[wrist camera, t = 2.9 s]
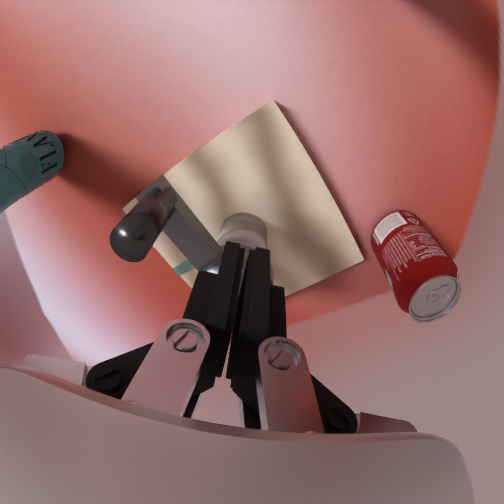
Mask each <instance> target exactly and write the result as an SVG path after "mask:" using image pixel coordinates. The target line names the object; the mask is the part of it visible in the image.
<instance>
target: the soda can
mask: <svg viewBox="0 0 504 504" xmlns="http://www.w3.org/2000/svg"><path fill="white" fill-rule="evenodd" d="M371 246H372V249H373V251H374V253H375V255H376V257H377V259H378V261H379V263H380V265H381V267H382V269H383V271H384V274H385V276H386V278H387V280H388V282H389V284H390V287H391V289H392V291H393V293H394V295H395V298H396V300H397V302H398V305H399V306H400V308H401V309H402V310H403V311H404V312H406V313H408V314H410V316H411V317H412V319H414V320H415V321H417V322H420V323H427V322H432V321H435V320H438V319H439V318H441V317H443V316H445V315H446V314H447V313H448V312H449V311H451V309H452V308H453V307H454V306H455V304H456V303H457V301H458V300H459V297H460V294H461V284H460V282H459V280H458V278H459V274H458V269H457V266H456V265H455V263H454V262H453V260H452V259H451V258H450V257H449V255H448V254H447V253H446V251H445V250H444V249H443V247H442V246H441V245H440V244H439V242H438V241H437V240H436V239H435V237H434V236H433V235H432V234H431V233H430V231H429V230H428V229H427V228H426V227H425V225H424V224H423V223H422V222H421V221H420V220H419V218H418V217H417V216H416V215H415V214H413V213H412V212H409V211H406V210H396V211H392V212H390V213H388V214H386V215H385V216H383V217H382V218H381V219H380V220H379V221H378V222H377V224H376V225H375V227H374V229H373V231H372V234H371Z"/></svg>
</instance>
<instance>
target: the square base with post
mask: <svg viewBox="0 0 504 504" xmlns="http://www.w3.org/2000/svg"><path fill="white" fill-rule="evenodd" d="M164 176H165V178H166V179H167V180H168V182H169V183H170V184H171V185H172V187H173V188H174V189H175V190H176V192H177V193H178V194H179V195H180V197H181V198H182V199H183V201H184V202H185V203H186V204H187V206H188V207H189V208H190V209H191V211H192V212H193V213H194V214H195V216H196V217H197V218H198V219H199V221H200V222H201V223H202V224H203V226H204V227H205V228H206V229H207V231H208V232H209V233H210V234H211V235H212V237H213V238H214V239H215V240H216V242H217V243H218V244H219V245H220V246H221V245H225V244H226V241H230V242H235V243H240V244H242V245H246V246H249V247H252V248H254V249H255V248H256V247H260V248H264V249H269V250H270V263H271V266H272V268H273V273H274V285H276V286H281V287H284V290H285V297H286V296H288V295H290V294H293V293H295V292H297V291H299V290H302V289H304V288H306V287H308V286H310V285H313V284H315V283H317V282H319V281H321V280H323V279H326V278H328V277H330V276H332V275H334V274H336V273H338V272H340V271H343V270H345V269H347V268H349V267H351V266H353V265H355V264H357V263H359V262H361V261H363V260H364V258H363V256H362V254H361V251H360V249H359V247H358V245H357V243H356V241H355V239H354V237H353V235H352V233H351V231H350V229H349V227H348V225H347V223H346V221H345V219H344V217H343V215H342V214H341V212H340V210H339V208H338V206H337V204H336V202H335V200H334V199H333V197H332V195H331V193H330V191H329V189H328V188H327V186H326V184H325V182H324V180H323V179H322V177H321V175H320V173H319V172H318V170H317V168H316V166H315V165H314V163H313V161H312V160H311V158H310V156H309V155H308V153H307V151H306V150H305V148H304V146H303V145H302V143H301V141H300V140H299V138H298V137H297V135H296V133H295V132H294V130H293V129H292V127H291V125H290V124H289V122H288V121H287V119H286V118H285V116H284V115H283V113H282V112H281V110H280V109H279V107H278V106H277V104H276V103H275V101H274V100H273V101H272V102H270V103H268V104H267V105H265V106H263V107H262V108H260V109H258V110H257V111H255V112H253V113H252V114H250V115H248V116H247V117H245V118H244V119H242V120H241V121H239V122H237V123H236V124H234V125H233V126H231V127H230V128H228V129H227V130H225V131H224V132H222V133H221V134H219V135H218V136H216V137H215V138H213V139H212V140H210V141H209V142H207V143H206V144H204V145H203V146H202V147H200V148H199V149H197V150H196V151H195V152H193V153H192V154H190V155H189V156H188V157H186V158H185V159H183V160H182V161H181V162H179V163H178V164H177V165H175V166H174V167H173V168H171V169H170V170H169V171H167V172H166V173H165V174H164ZM138 202H139V201H138V200H137V199H136V198H134V199H133V200H131V201H130V202H129V203H128V204H127V205H126V206H125V207H124V208H123V209H122V210H123V211H124V212H125V214H126V215H127V214H128V213H129V211H130V210H131V209H132V208H133V207H134V206H135V205H136V204H137V203H138ZM153 246H154V247H155V249H156V250H157V251H158V252H159V253H160V254H161V255H162V256H163V258H164V259H165V260H166V261H167V262H168V263H169V264H170V265H171V266H172V268H173V270H174V271H175V272H176V273H177V274H178V275H180V276H181V277H182V278H183V280H184V281H185V282H186V283H187V284H188V285H189V286H190V287H191V288H192V287H193V284H194V282H195V279H196V276H197V273H198V270H197V269H196V268H195V267H194V266H193V265H192V264H191V263H190V261H189V260H188V259H187V258H186V257H185V256H184V255H183V253H182V252H181V251H180V250H179V249H178V248H177V247H176V245H175V244H174V243H173V242H172V241H171V240H170V238H169V237H168V236H167V235H166V234H165V233H164V231H163V230H162V232H161V233H160V235H159V236H158V238H157V239H156V241H155V243H154V244H153Z"/></svg>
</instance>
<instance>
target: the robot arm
mask: <svg viewBox="0 0 504 504" xmlns="http://www.w3.org/2000/svg"><path fill="white" fill-rule="evenodd" d="M244 254H245V248H241V247H240V243H235V242H230V241H226V244H225V248H224V251H223V255H222V259H221V263H220V267H219V270H218V274H216V273H211V272H207V271H202V270H199V272H198V274H197V277H196V280H195V283H194V286H193V289H192V291H191V294H190V297H189V300H188V303H187V306H186V309H185V312H184V315H183V318H182V319H177V320H173V321H171V322H169V323H167V324H166V325H165V326H164V327H163V329H162V330H161V332H160V334H159V335H158V337H157V339H156V340H155V342H153V343H150V344H148V345H145V346H143V347H140V348H137V349H135V350H132V351H130V352H127V353H125V354H122V355H119V356H117V357H114V358H112V359H109V360H106V361H104V362H101V363H99V364H97V365H95V366H93V367H91V366H87V365H86V363H83V362H76V361H70V360H63V359H58V358H52V357H47V356H42V355H29V356H27V357H25V358H24V359H23V360H22V361H21V362H20V364H14V363H0V504H475V500H474V495H473V490H472V484H471V479H470V475H469V472H468V468H467V465H466V462H465V460H464V457H463V455H462V453H461V451H460V450H459V448H458V447H457V446H456V445H455V444H454V443H452V442H450V441H448V440H447V439H444V438H442V437H439V436H435V435H432V434H427V433H419V432H417V430H416V429H415V427H414V426H413V425H412V424H411V423H410V422H407V421H404V420H398V419H393V418H388V417H382V416H378V415H373V414H368V413H364V412H360V413H359V414H355V413H354V412H353V411H352V410H351V409H350V408H349V407H348V406H347V405H346V404H345V403H344V402H342V401H341V400H340V399H339V398H338V397H337V396H335V395H334V394H333V393H332V392H331V391H330V390H328V389H327V388H326V387H325V386H324V385H323V384H322V383H321V382H319V381H318V380H317V379H316V378H315V377H314V376H313V375H311V374H310V372H309V368H308V364H307V360H306V357H305V354H304V351H303V349H302V348H301V347H300V346H299V345H298V344H297V343H296V342H294V341H293V340H291V339H288V338H287V333H286V309H285V290H284V287H281V286H276V285H271V284H270V250H269V249H264V248H260V247H256V248H255V250H249V254H248V258H247V262H246V266H245V271H244V275H243V279H242V283H241V287H240V281H241V274H242V267H243V261H244ZM239 288H240V292H239ZM238 295H239V296H238ZM232 330H233V331H232ZM231 334H232V338H231ZM230 338H231V345H230V352H229V359H228V366H227V373H226V378H227V379H231V386H230V388H233V389H232V390H233V391H234V392H235V393H236V394H237V396H239V398H240V399H239V409H240V421H241V427H235V426H228V425H222V424H216V423H210V422H205V421H200V420H195V419H193V416H194V413H195V411H196V408H197V406H198V403H199V401H200V398H201V395H202V393H203V392H204V391H206V390H208V389H210V388H212V387H213V386H214V381H215V377H221V375H222V371H223V367H224V363H225V359H226V355H227V351H228V347H229V343H230Z"/></svg>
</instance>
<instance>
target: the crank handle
mask: <svg viewBox="0 0 504 504" xmlns="http://www.w3.org/2000/svg"><path fill="white" fill-rule="evenodd" d="M135 198H136V199H137V200H138V201H139V202H138V203H137V204H136V205H135V206H134V207H133V208H132V209H131V210H130V211H129V213H128V214H127V215H126V216H125V217H124V218H123V219H122V220H121V221H120V222H119V223H118V225H117V226H116V227H115V228H114V229H113V230H112V232H111V234H110V244H111V247H112V249H113V250H114V252H115V253H116V254H117V255H118V256H119V257H120V258H122V259H124V260H126V261H129V262H139V261H141V260H143V259H144V258H145V257H146V255H147V254H148V252H149V250H150V249H151V247H152V246H153V244H154V243H155V241H156V239H157V238H158V236H159V235H160V233H161V232H162V230H163V231H164V233H165V234H166V235H167V236H168V237H169V238H170V240H171V241H172V242H173V243H174V244H175V245H176V247H177V248H178V249H179V250H180V251H181V252H182V253H183V255H184V256H185V257H186V258H187V259H188V260H189V261H190V263H191V264H192V265H193V266H194V267H195V268H196V269H197V270H198V272H199V270H202V271H207V272H211V273H216V274H218V270H219V267H220V263H221V259H222V255H223V251H224V248H225V245H221V246H220V245H219V244H218V243H217V242H216V240H215V239H214V238H213V237H212V235H211V234H210V233H209V232H208V231H207V229H206V228H205V227H204V226H203V224H202V223H201V222H200V221H199V219H198V218H197V217H196V216H195V214H194V213H193V212H192V211H191V209H190V208H189V207H188V206H187V204H186V203H185V202H184V201H183V199H182V198H181V197H180V195H179V194H178V193H177V192H176V190H175V189H174V188H173V187H172V185H171V184H170V183H169V182H168V180H167V179H166V178H165V176H164V175H163V174H162V175H161V176H160V177H158V178H157V179H156V180H155V181H153V182H152V183H151V184H150V185H148V186H147V187H146V188H145V189H144V190H142V191H141V192H140V193H139V194H138V195H137V196H136V197H135ZM240 247H241V248H245V254H244V261H243V267H242V274H241V281H240V287H241V283H242V279H243V275H244V271H245V266H246V262H247V258H248V254H249V250H255V249H254V248H252V247H249V246H246V245H242V244H240ZM197 274H198V273H197ZM196 277H197V276H196ZM195 280H196V279H195ZM194 283H195V282H194ZM270 284H271V285H274V273H273V268H272V266H271V263H270ZM193 286H194V284H193ZM192 289H193V287H192ZM239 292H240V288H239ZM238 296H239V295H238Z"/></svg>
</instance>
